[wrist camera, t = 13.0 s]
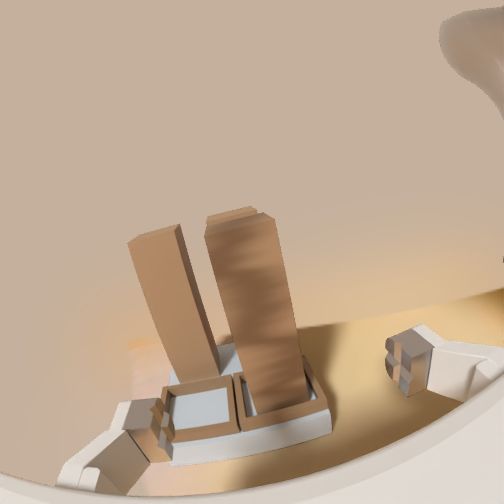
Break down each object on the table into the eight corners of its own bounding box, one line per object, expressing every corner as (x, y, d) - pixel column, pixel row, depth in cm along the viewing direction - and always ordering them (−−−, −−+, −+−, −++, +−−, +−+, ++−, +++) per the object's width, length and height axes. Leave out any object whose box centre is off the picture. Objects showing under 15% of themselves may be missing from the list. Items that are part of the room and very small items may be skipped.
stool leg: (296, 374, 24) (263, 212, 20) (309, 403, 20) (274, 219, 16) (251, 386, 23) (206, 226, 20) (258, 417, 20) (204, 236, 16)
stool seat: (291, 346, 32) (260, 201, 28) (332, 432, 19) (301, 218, 15) (181, 372, 32) (132, 235, 28) (171, 466, 18) (69, 278, 14)
